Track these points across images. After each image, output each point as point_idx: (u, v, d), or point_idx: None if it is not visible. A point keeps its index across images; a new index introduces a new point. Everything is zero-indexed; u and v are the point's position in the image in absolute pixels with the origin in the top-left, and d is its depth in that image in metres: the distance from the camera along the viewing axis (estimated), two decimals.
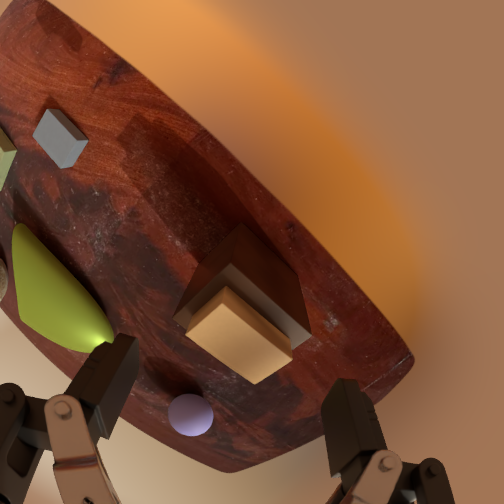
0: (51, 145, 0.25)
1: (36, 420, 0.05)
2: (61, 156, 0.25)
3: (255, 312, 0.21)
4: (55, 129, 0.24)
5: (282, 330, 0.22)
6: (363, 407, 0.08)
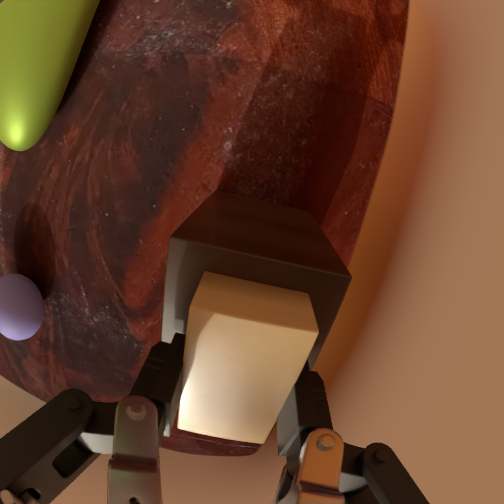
0: None
1: (99, 433, 0.06)
2: None
3: None
4: None
5: None
6: (310, 385, 0.09)
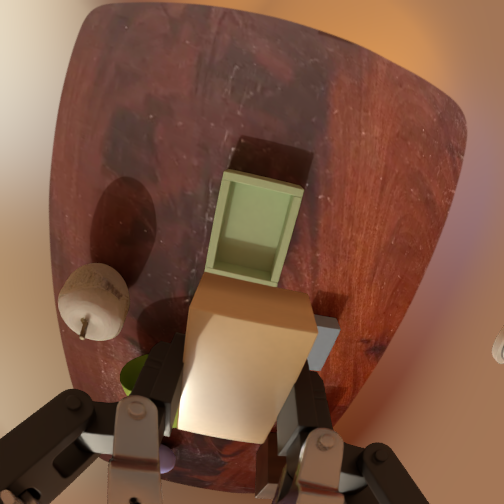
0: None
1: (99, 433, 0.06)
2: None
3: None
4: (323, 348, 0.33)
5: None
6: (309, 385, 0.09)
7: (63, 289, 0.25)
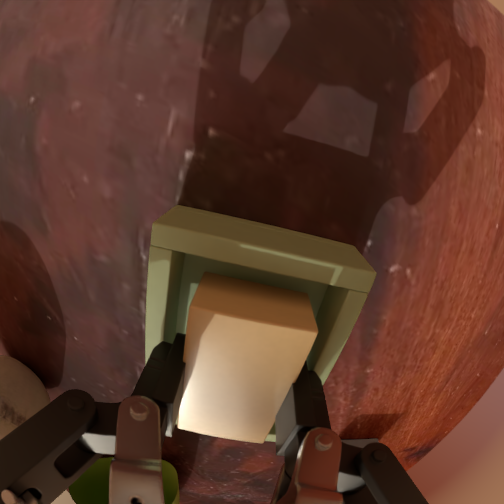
0: None
1: (101, 433, 0.06)
2: None
3: None
4: None
5: None
6: (308, 384, 0.09)
7: None
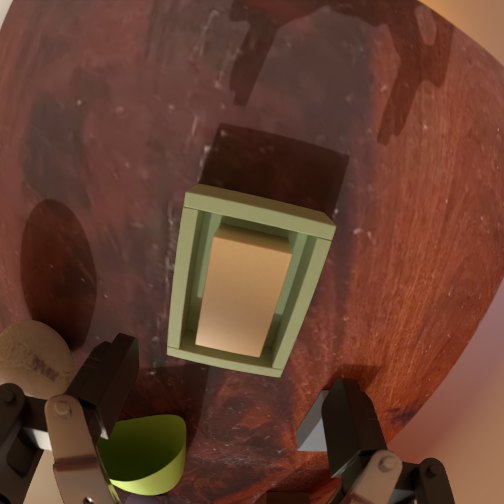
0: (321, 436, 0.21)
1: (36, 420, 0.05)
2: (312, 447, 0.22)
3: None
4: None
5: None
6: (363, 407, 0.08)
7: None
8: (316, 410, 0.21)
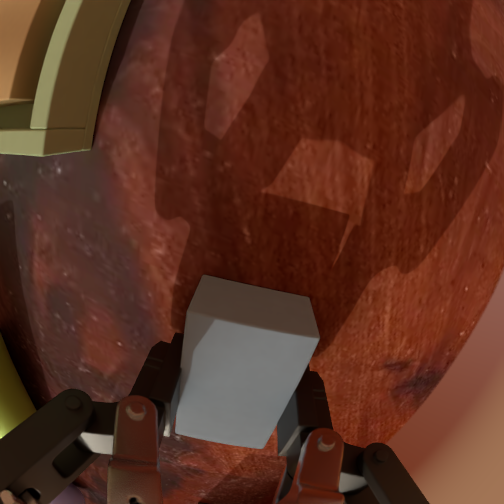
0: (209, 402, 0.09)
1: (99, 433, 0.06)
2: (203, 430, 0.10)
3: None
4: (260, 399, 0.09)
5: None
6: (309, 385, 0.09)
7: None
8: None
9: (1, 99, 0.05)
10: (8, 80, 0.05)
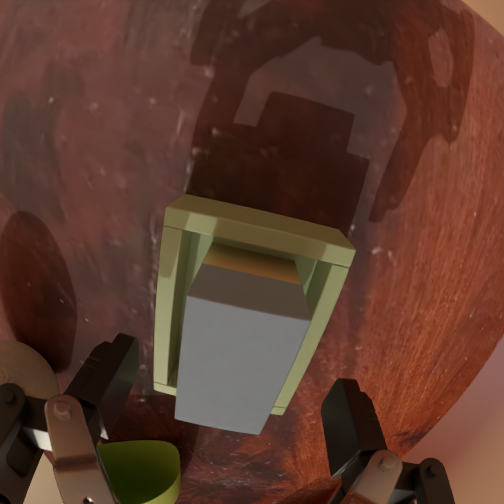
0: (207, 385, 0.10)
1: (36, 420, 0.05)
2: (201, 415, 0.11)
3: None
4: (256, 382, 0.10)
5: None
6: (363, 407, 0.08)
7: None
8: None
9: None
10: None
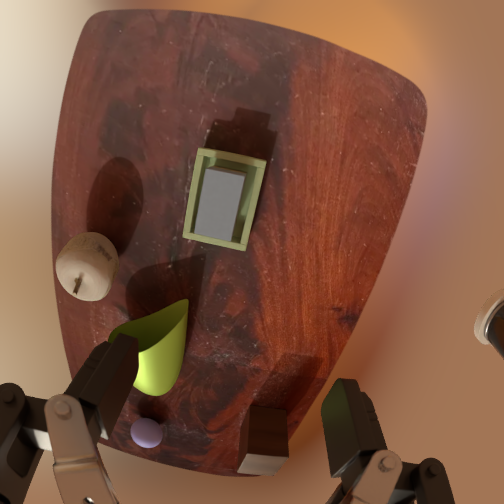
0: (209, 207, 0.29)
1: (36, 420, 0.05)
2: (206, 228, 0.30)
3: (241, 197, 0.33)
4: (228, 204, 0.29)
5: (269, 471, 0.40)
6: (363, 407, 0.08)
7: (61, 252, 0.29)
8: None
9: None
10: None
